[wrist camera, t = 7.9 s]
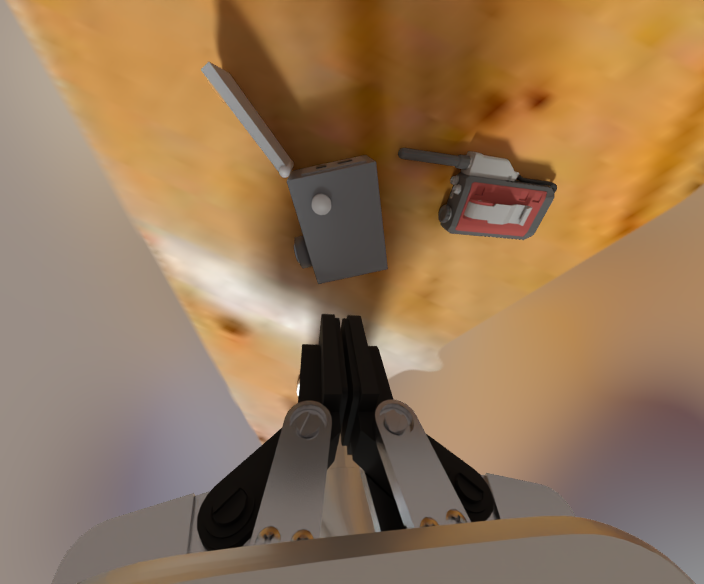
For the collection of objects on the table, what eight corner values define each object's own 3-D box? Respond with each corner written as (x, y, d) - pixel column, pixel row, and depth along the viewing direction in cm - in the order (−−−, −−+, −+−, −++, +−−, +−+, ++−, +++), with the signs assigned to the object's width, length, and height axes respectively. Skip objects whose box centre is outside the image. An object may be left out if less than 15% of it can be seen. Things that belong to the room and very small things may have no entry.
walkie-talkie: (557, 164, 30) (397, 139, 27) (591, 170, 26) (410, 142, 23) (521, 234, 35) (381, 221, 31) (544, 248, 31) (389, 234, 28)
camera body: (377, 248, 33) (389, 271, 28) (305, 264, 33) (303, 290, 28) (365, 152, 27) (376, 159, 21) (275, 171, 27) (265, 183, 22)
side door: (229, 72, 22) (208, 60, 18) (295, 164, 26) (291, 173, 22) (218, 83, 22) (195, 74, 18) (285, 172, 27) (279, 182, 22)
